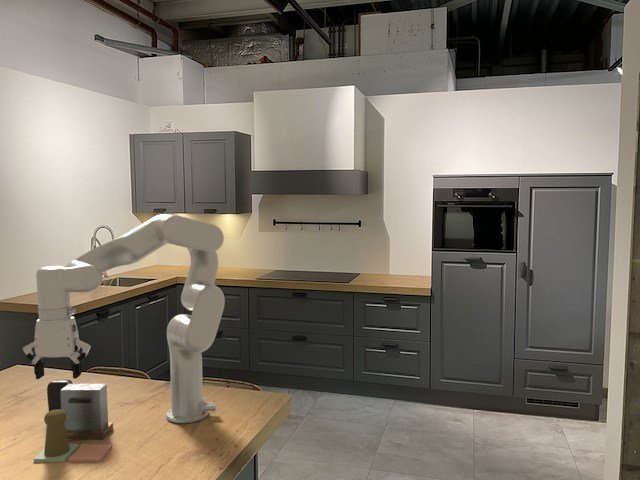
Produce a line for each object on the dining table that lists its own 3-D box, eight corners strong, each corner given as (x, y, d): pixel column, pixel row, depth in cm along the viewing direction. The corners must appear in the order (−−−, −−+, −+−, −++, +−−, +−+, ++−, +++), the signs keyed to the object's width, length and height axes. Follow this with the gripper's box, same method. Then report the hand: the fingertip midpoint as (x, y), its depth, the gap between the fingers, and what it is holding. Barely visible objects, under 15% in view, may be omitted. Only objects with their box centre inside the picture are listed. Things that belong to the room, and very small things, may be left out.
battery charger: (75, 413, 170) (74, 377, 169) (70, 418, 166) (69, 382, 165) (53, 413, 170) (51, 378, 169) (47, 418, 166) (45, 382, 165)
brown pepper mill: (40, 451, 143) (38, 411, 142) (64, 444, 147) (62, 404, 146) (48, 459, 139) (46, 418, 138) (73, 451, 143) (71, 411, 142)
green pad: (78, 447, 147) (78, 444, 147) (64, 461, 139) (64, 458, 139) (49, 447, 147) (49, 444, 147) (33, 462, 139) (33, 459, 139)
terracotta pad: (111, 447, 147) (111, 444, 147) (99, 461, 139) (99, 458, 139) (82, 447, 147) (82, 444, 147) (68, 461, 139) (68, 458, 139)
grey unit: (113, 428, 158) (111, 382, 157) (103, 439, 151) (101, 391, 150) (68, 429, 158) (66, 382, 157) (57, 439, 151) (55, 391, 150)
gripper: (93, 310, 145) (97, 372, 147) (29, 310, 145) (33, 373, 146) (81, 316, 138) (85, 381, 139) (13, 317, 137) (18, 382, 139)
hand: (58, 377), depth 143 cm, fingers open, 9 cm apart
